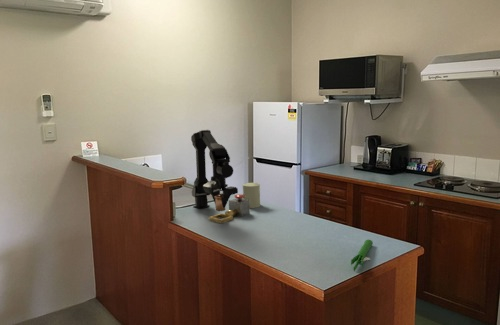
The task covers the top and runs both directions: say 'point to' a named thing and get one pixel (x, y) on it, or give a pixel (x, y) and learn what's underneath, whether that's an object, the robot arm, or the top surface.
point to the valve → (238, 206)
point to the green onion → (362, 254)
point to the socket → (225, 219)
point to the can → (252, 194)
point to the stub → (219, 203)
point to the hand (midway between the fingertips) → (220, 206)
